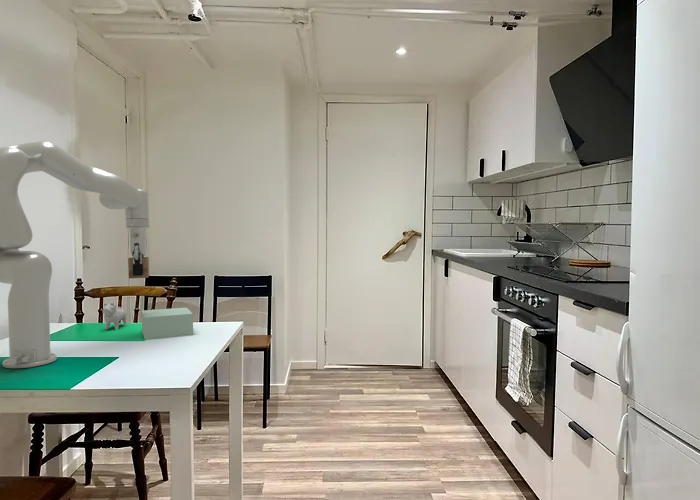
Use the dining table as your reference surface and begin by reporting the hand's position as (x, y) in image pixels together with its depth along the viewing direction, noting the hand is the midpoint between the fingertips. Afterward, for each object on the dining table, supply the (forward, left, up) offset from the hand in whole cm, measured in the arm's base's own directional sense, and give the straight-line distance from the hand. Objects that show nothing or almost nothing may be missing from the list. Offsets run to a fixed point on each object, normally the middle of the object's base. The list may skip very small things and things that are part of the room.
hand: (139, 274), depth 163 cm
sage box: (+2, -9, -22) cm, 24 cm away
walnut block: (0, 0, -1) cm, 1 cm away
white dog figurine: (+18, +11, -22) cm, 31 cm away
